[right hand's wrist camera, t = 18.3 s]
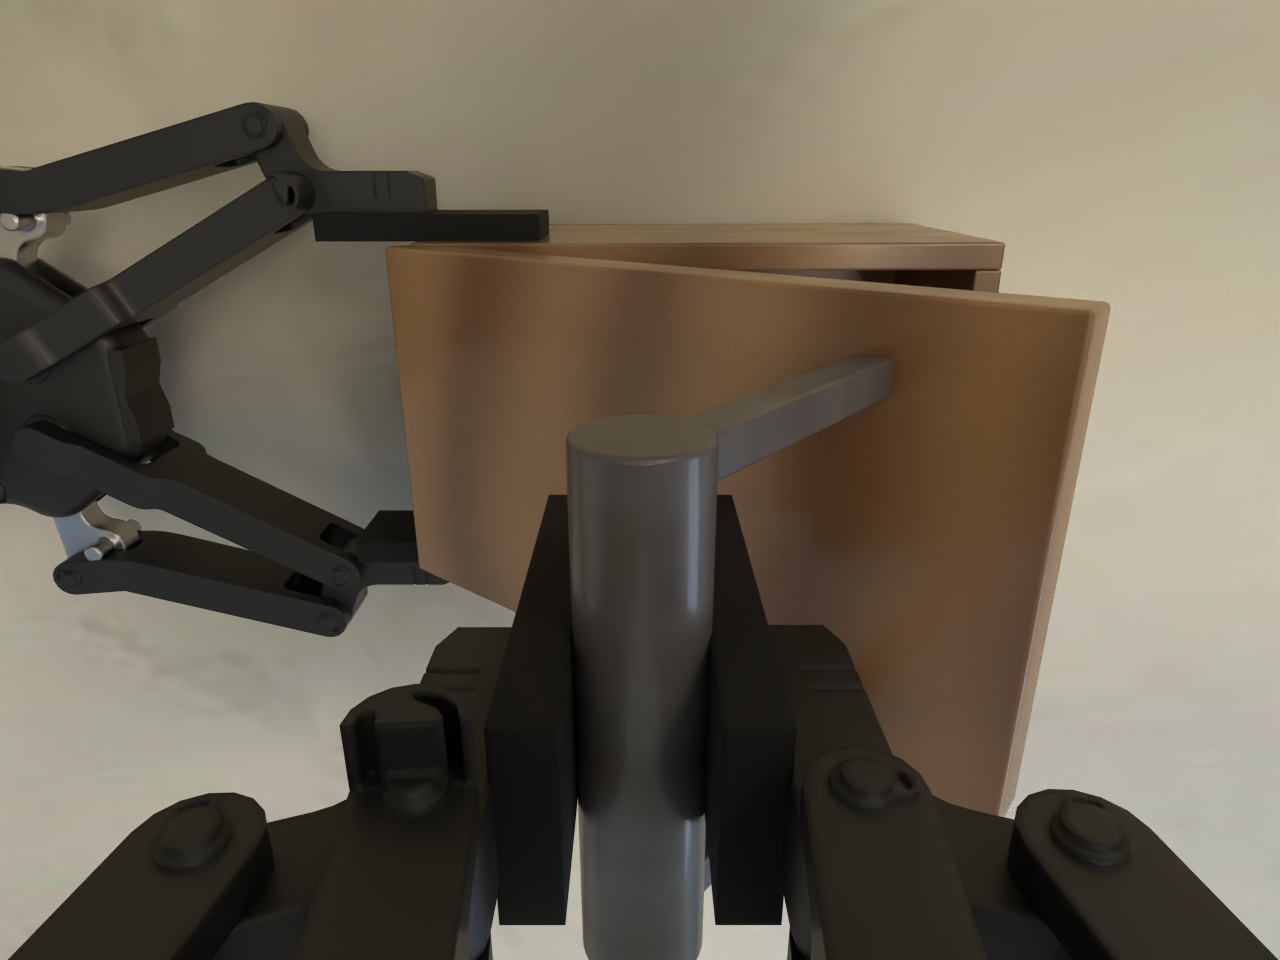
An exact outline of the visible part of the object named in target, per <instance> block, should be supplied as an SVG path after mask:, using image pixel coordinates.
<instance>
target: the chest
mask: <svg viewBox="0 0 1280 960" xmlns="http://www.w3.org/2000/svg"><path fill="white" fill-rule="evenodd" d="M417 244H422V245H434V246H446V247H458V248H470V249H482V250H494V251H506V252H518V253H530V254H542V255H554V256H565V257H577V258H589V259H601V260H613V261H625V262H637V263H649V264H661V265H673V266H685V267H696V268H708V269H720V270H732V271H744V272H756V273H768V274H780V275H792V276H804V277H816V278H828V279H839V280H851V281H863V282H875V283H887V284H899V285H911V286H923V287H935V288H947V289H959V290H970V291H982V292H994V293H998V290H999V283H1000V276H1001V271H1000V269H1001V267H1002V261H1003V254H1004V247H1005V244H1004V243H1003V242H998V241H993V240H989V239H984V238H979V237H974V236H969V235H964V234H960V233H955V232H950V231H945V230H940V229H935V228H930V227H926V226H921V225H917V224H549V234H548V235H547V236H546V237H544V238H543V239H541V240H540V241H417V242H414V243H412V244H410V245H417Z"/></svg>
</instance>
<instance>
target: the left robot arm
mask: <svg viewBox="0 0 1280 960" xmlns="http://www.w3.org/2000/svg"><path fill="white" fill-rule="evenodd" d="M308 135H309V130H308V125H307V123H306V121H305V119H304V117H303V116H302V115H301V114H299V113H298V112H297V111H295V110H292V109H289V108H284V107H279V106H273V105H267V104H262V103H256V102H251V103H244V104H241V105H237V106H234V107H231V108H228V109H224V110H221V111H218V112H215V113H211V114H208V115H205V116H202V117H198V118H195V119H192V120H189V121H185V122H182V123H179V124H176V125H173V126H169V127H166V128H163V129H160V130H156V131H153V132H150V133H147V134H143V135H140V136H137V137H134V138H130V139H127V140H124V141H121V142H117V143H114V144H111V145H108V146H104V147H101V148H98V149H95V150H91V151H88V152H85V153H82V154H78V155H75V156H72V157H69V158H66V159H62V160H59V161H56V162H53V163H49V164H46V165H43V166H40V167H36V168H33V167H22V166H0V504H5V503H9V504H16V505H20V506H23V507H26V508H29V509H31V510H33V511H35V512H38V513H40V514H42V515H45V516H49V517H54V520H55V523H56V526H57V529H58V531H59V534H60V537H61V540H62V542H63V545H64V548H65V551H66V553H67V556H68V559H67V560H65V561H64V562H62V563H61V564H59V565H58V566H57V567H56V568H55V569H54V572H53V578H54V581H55V583H56V584H57V586H58V587H59V588H60V589H61V590H63V591H65V592H67V593H69V594H90V593H103V592H116V591H128V592H132V593H137V594H141V595H146V596H150V597H154V598H159V599H163V600H168V601H172V602H177V603H181V604H185V605H190V606H194V607H199V608H203V609H207V610H212V611H216V612H221V613H225V614H229V615H234V616H238V617H243V618H247V619H251V620H256V621H260V622H265V623H269V624H273V625H278V626H282V627H287V628H291V629H295V630H300V631H304V632H309V633H313V634H318V635H322V636H326V637H335V636H338V635H340V634H341V633H342V632H344V630H345V629H346V627H347V626H348V624H349V622H350V621H351V619H352V618H353V616H354V615H355V613H356V612H357V610H358V608H359V607H360V605H361V604H362V602H363V601H364V599H365V597H366V595H367V586H370V585H376V584H428V585H444V584H446V583H449V581H447V580H445V579H442V578H440V577H438V576H436V575H434V574H431V573H429V572H427V571H425V570H423V569H421V568H420V567H419V559H418V550H417V540H416V531H415V521H414V512H413V511H403V510H379V512H378V513H377V514H376V515H375V517H374V518H373V519H372V521H371V522H370V523H369V525H368V526H367V527H366V529H363V528H361V527H359V526H357V525H354V524H352V523H350V522H348V521H346V520H344V519H342V518H340V517H338V516H335V515H333V514H331V513H329V512H327V511H325V510H323V509H321V508H319V507H316V506H314V505H312V504H310V503H308V502H306V501H304V500H302V499H300V498H297V497H295V496H293V495H291V494H289V493H287V492H285V491H283V490H281V489H278V488H276V487H274V486H272V485H270V484H268V483H266V482H264V481H262V480H259V479H257V478H255V477H253V476H251V475H249V474H247V473H245V472H243V471H240V470H238V469H236V468H234V467H232V466H230V465H228V464H226V463H224V462H221V461H219V460H217V459H215V458H213V457H211V456H209V455H208V454H207V453H206V451H205V448H204V447H203V446H202V445H201V444H199V443H198V442H196V441H194V440H191V439H189V438H187V437H185V436H183V435H181V434H179V433H177V432H175V431H173V430H170V429H172V428H174V423H173V418H172V413H171V408H170V405H169V403H168V401H167V398H166V396H165V394H164V392H163V390H162V388H161V386H160V383H159V376H160V361H161V359H160V355H159V350H158V345H157V340H156V337H148V336H147V334H146V333H145V331H144V329H143V328H144V327H145V326H147V325H149V324H150V323H152V322H153V321H155V320H157V319H158V318H160V317H162V316H163V315H165V314H166V313H168V312H170V311H171V310H173V309H174V308H176V307H177V304H179V303H180V302H181V301H183V300H185V299H186V298H188V297H189V296H191V295H193V294H194V293H196V292H198V291H199V290H201V289H202V288H204V287H206V286H207V285H209V284H210V283H212V282H214V281H215V280H217V279H218V278H220V277H222V276H223V275H225V274H226V273H228V272H230V271H231V270H233V269H234V268H236V267H238V266H239V265H241V264H242V263H244V262H246V261H247V260H249V259H250V258H252V257H254V256H255V255H257V254H259V253H260V252H262V251H263V250H265V249H267V248H268V247H270V246H271V245H273V244H275V243H276V242H278V241H279V240H281V239H283V238H284V237H286V236H287V235H289V234H291V233H292V232H294V231H295V230H297V229H299V228H300V227H302V226H303V225H305V224H307V223H308V222H310V221H312V220H313V225H314V233H315V240H316V241H540V240H541V239H543V238H544V237H546V236H547V235H548V234H549V214H548V210H437V198H436V186H435V178H433V177H431V176H429V175H426V174H424V173H421V172H419V171H337V170H333V169H331V168H329V167H327V166H326V165H324V164H323V163H322V162H321V161H320V160H319V159H318V157H317V155H316V154H315V152H314V150H313V147H312V145H311V143H310V141H309V139H308ZM255 162H258V164H259V166H260V168H261V170H262V172H263V174H264V176H265V178H266V180H265V181H263V182H262V183H260V184H258V185H257V186H255V187H254V188H252V189H251V190H249V191H247V192H246V193H244V194H243V195H241V196H240V197H238V198H237V199H235V200H233V201H232V202H230V203H229V204H227V205H226V206H224V207H222V208H221V209H219V210H218V211H216V212H215V213H213V214H212V215H210V216H208V217H207V218H205V219H204V220H202V221H201V222H199V223H197V224H196V225H194V226H193V227H191V228H190V229H188V230H187V231H185V232H183V233H182V234H180V235H179V236H177V237H176V238H174V239H173V240H171V241H169V242H168V243H166V244H165V245H163V246H162V247H160V248H158V249H157V250H155V251H154V252H152V253H151V254H149V255H148V256H146V257H144V258H143V259H141V260H140V261H138V262H137V263H135V264H133V265H132V266H130V267H129V268H127V269H126V270H124V271H123V272H121V273H119V274H118V275H116V276H115V277H113V278H111V279H110V280H108V281H106V282H103V283H101V284H99V285H96V286H94V287H92V288H90V289H88V288H86V287H84V286H83V285H81V284H80V283H78V282H77V281H75V280H73V279H72V278H70V277H69V276H67V275H65V274H64V273H62V272H61V271H59V270H57V269H56V268H54V267H53V266H51V265H50V264H48V263H46V262H45V261H43V260H41V259H39V258H37V250H38V247H39V245H40V244H41V243H42V242H43V241H44V240H46V239H50V238H54V237H58V236H60V235H61V234H62V233H63V232H64V230H65V227H66V226H67V225H69V223H70V222H71V216H70V214H69V212H73V211H85V210H96V209H100V208H105V207H109V206H113V205H116V204H119V203H123V202H126V201H129V200H133V199H136V198H139V197H142V196H146V195H149V194H152V193H156V192H159V191H162V190H166V189H169V188H172V187H176V186H179V185H182V184H186V183H189V182H192V181H196V180H199V179H202V178H206V177H209V176H212V175H216V174H219V173H222V172H226V171H229V170H232V169H235V168H239V167H242V166H245V165H249V164H252V163H255ZM148 461H151V462H150V463H148V464H145V463H146V462H148ZM105 495H109V496H111V497H113V498H115V499H118V500H120V501H122V502H124V503H126V504H129V505H131V506H133V507H136V508H140V509H160V510H163V511H165V512H168V513H170V514H172V515H174V516H176V517H179V518H181V519H183V520H185V521H187V522H190V523H192V524H194V525H196V526H198V527H200V528H203V529H205V530H207V531H209V532H211V533H214V534H216V535H218V536H220V537H222V538H224V539H227V540H229V541H231V542H233V543H235V544H238V545H240V546H242V547H244V548H246V549H249V550H251V551H249V550H245V549H241V548H236V547H232V546H228V545H224V544H219V543H215V542H211V541H206V540H202V539H198V538H194V537H189V536H185V535H181V534H176V533H171V532H164V531H141V525H140V523H139V522H137V521H136V520H133V519H129V520H127V521H125V520H120V519H114V518H111V517H109V516H107V515H106V514H105V513H103V512H102V510H101V509H100V508H99V506H98V504H97V501H99V500H100V499H102V498H103V497H104V496H105Z"/></svg>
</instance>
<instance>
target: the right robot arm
mask: <svg viewBox="0 0 1280 960" xmlns="http://www.w3.org/2000/svg"><path fill="white" fill-rule="evenodd" d="M340 731H341V737H342V744H343V750H344V757H345V763H346V770H347V776H348V783H349V789H350V792H349V795H348V798H347V799H346V800H344V801H342V802H340V803H338V804H336V805H334V806H331V807H328V808H325V809H321V810H318V811H315V812H312V813H307V814H303V815H299V816H294V817H290V818H286V819H282V820H277V821H273V822H269V823H267V820H266V815H265V811H264V810H263V808H262V807H261V806H260V805H259V804H258V803H257V802H256V801H255V800H254V799H253V798H250V797H247V796H244V795H240V794H237V793H234V792H233V793H208V794H204V795H200V796H197V797H193V798H189V799H186V800H182V801H179V802H177V803H175V804H173V805H171V806H169V807H167V808H165V809H163V810H161V811H159V812H157V813H155V814H154V815H152V816H151V817H150V818H149V819H147V820H146V821H145V822H144V823H142V824H141V825H140V826H139V827H137V828H136V829H135V830H134V831H132V832H131V833H130V834H129V835H128V836H127V837H126V838H125V839H124V840H123V841H122V843H121V844H120V845H119V846H118V847H117V848H116V849H115V850H114V851H113V852H112V853H111V854H110V855H109V856H108V857H107V858H106V859H105V860H104V861H103V862H102V863H101V864H100V865H99V866H98V867H97V868H96V869H95V870H94V871H93V872H92V873H91V875H90V876H89V877H88V878H87V879H86V880H85V881H84V882H83V883H82V884H81V885H80V886H79V887H78V888H77V889H76V890H75V891H74V892H73V893H72V894H71V895H70V896H69V897H68V898H67V899H66V900H65V901H64V902H63V903H62V904H61V906H60V907H59V908H58V909H57V910H56V911H55V912H54V913H53V914H52V915H51V916H50V917H49V918H48V919H47V920H46V921H45V922H44V923H43V924H42V925H41V926H40V927H39V928H38V929H37V930H36V931H35V932H34V933H33V934H32V935H31V936H30V938H29V939H28V940H27V941H26V942H25V943H24V944H23V945H22V946H21V947H20V948H19V949H18V950H17V951H16V952H15V953H14V954H13V955H12V956H11V957H10V958H9V959H8V960H493V956H492V944H491V933H490V931H491V926H492V921H493V916H494V911H495V906H496V901H497V900H498V913H499V925H565V922H566V912H567V902H568V892H569V882H570V871H571V861H572V851H573V841H574V831H575V821H576V810H577V800H578V784H577V756H576V728H575V700H574V671H573V643H572V615H571V587H570V558H569V530H568V502H567V495H549V496H548V500H547V503H546V507H545V510H544V514H543V517H542V521H541V525H540V528H539V532H538V535H537V539H536V543H535V546H534V550H533V553H532V557H531V561H530V564H529V568H528V571H527V575H526V579H525V582H524V586H523V589H522V593H521V597H520V600H519V604H518V607H517V611H516V615H515V618H514V622H513V625H512V627H458V628H457V629H456V630H455V631H453V632H452V633H451V634H450V635H449V636H448V637H446V638H445V639H444V640H443V641H442V642H441V643H439V644H438V645H437V646H436V647H435V649H434V652H433V654H432V657H431V659H430V661H429V664H428V666H427V668H426V673H424V675H423V678H422V680H421V682H420V684H413V685H407V686H400V687H394V688H390V689H388V690H385V691H383V692H380V693H378V694H375V695H372V696H370V697H368V698H367V699H365V700H364V701H362V702H361V703H360V704H358V705H357V706H355V707H354V708H352V709H351V710H350V711H349V713H348V714H347V716H346V717H345V718H344V720H343V721H342V723H341V724H340ZM705 823H706V833H707V844H708V854H709V864H710V874H711V884H712V894H713V904H714V914H715V924H716V925H781V922H782V910H783V897H784V898H785V903H786V908H787V913H788V918H789V923H790V933H789V944H788V956H787V960H1278V959H1277V958H1276V957H1275V956H1274V955H1273V954H1272V953H1271V952H1270V951H1269V950H1268V949H1267V948H1266V947H1265V946H1264V945H1263V944H1262V943H1261V942H1260V941H1259V940H1258V939H1257V937H1256V936H1255V935H1254V934H1253V933H1252V932H1251V931H1250V930H1249V929H1248V928H1247V927H1246V926H1245V925H1244V924H1243V923H1242V922H1241V921H1240V920H1239V919H1238V918H1237V917H1236V916H1235V915H1234V914H1233V913H1232V912H1231V911H1230V910H1229V909H1228V908H1227V907H1226V906H1225V905H1224V904H1223V903H1222V902H1221V901H1220V900H1219V899H1218V897H1217V896H1216V895H1215V894H1214V893H1213V892H1212V891H1211V890H1210V889H1209V888H1208V887H1207V886H1206V885H1205V884H1204V883H1203V882H1202V881H1201V880H1200V879H1199V878H1198V877H1197V876H1196V875H1195V874H1194V873H1193V872H1192V871H1191V870H1190V869H1189V868H1188V867H1187V866H1186V865H1185V864H1184V863H1183V862H1182V861H1181V860H1180V859H1179V857H1178V856H1177V855H1176V854H1175V853H1174V852H1173V851H1172V850H1171V849H1170V848H1169V847H1168V846H1167V845H1166V844H1165V843H1164V842H1163V841H1162V840H1161V839H1160V838H1159V837H1158V836H1157V835H1156V834H1155V833H1154V832H1153V831H1152V830H1151V829H1150V828H1149V827H1148V826H1146V825H1145V824H1144V823H1143V822H1141V821H1140V820H1139V819H1138V818H1136V817H1135V816H1134V815H1133V814H1131V813H1130V812H1129V811H1127V810H1125V809H1123V808H1121V807H1119V806H1117V805H1115V804H1113V803H1111V802H1109V801H1107V800H1105V799H1103V798H1101V797H1097V796H1094V795H1090V794H1086V793H1083V792H1079V791H1075V790H1059V789H1047V790H1043V791H1040V792H1037V793H1034V794H1030V795H1028V796H1027V797H1026V798H1025V799H1024V800H1023V801H1022V802H1021V804H1020V805H1019V806H1018V807H1017V810H1016V815H1015V820H1013V819H1009V818H1005V817H1001V816H996V815H992V814H988V813H983V812H979V811H975V810H970V809H967V808H964V807H960V806H957V805H954V804H951V803H948V802H946V801H944V800H942V799H939V798H937V797H935V796H933V795H932V793H931V790H930V789H929V787H928V785H927V784H926V782H925V781H924V779H923V777H922V776H921V774H920V773H919V772H918V771H917V770H915V769H914V768H913V767H911V766H910V765H909V764H908V763H906V762H905V761H904V760H903V759H901V758H898V757H896V756H894V755H893V754H892V752H891V749H890V747H889V745H888V742H887V740H886V738H885V735H884V733H883V731H882V728H881V726H880V724H879V721H878V719H877V717H876V714H875V712H874V710H873V707H872V705H871V703H870V700H869V698H868V696H867V693H866V691H865V689H863V684H862V682H861V679H860V677H859V675H858V672H857V671H855V665H854V663H853V661H852V658H851V656H850V654H849V652H848V649H847V647H846V645H845V643H843V642H842V641H841V640H840V639H839V638H838V637H836V636H835V635H834V634H833V633H832V632H831V631H829V630H828V629H827V628H826V627H825V626H824V625H768V622H767V619H766V615H765V612H764V608H763V605H762V601H761V597H760V594H759V590H758V587H757V583H756V579H755V576H754V572H753V569H752V565H751V562H750V558H749V554H748V551H747V547H746V544H745V540H744V536H743V533H742V529H741V526H740V522H739V519H738V515H737V511H736V508H735V504H734V501H733V497H732V495H717V507H716V538H715V568H714V598H713V628H712V635H711V638H710V667H709V697H708V726H707V756H706V785H705Z"/></svg>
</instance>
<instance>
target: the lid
mask: <svg viewBox="0 0 1280 960" xmlns="http://www.w3.org/2000/svg"><path fill="white" fill-rule="evenodd" d="M386 259H387V268H388V278H389V287H390V296H391V306H392V315H393V324H394V334H395V343H396V353H397V362H398V371H399V381H400V390H401V399H402V409H403V418H404V428H405V437H406V446H407V456H408V465H409V475H410V484H411V493H412V503H413V512H414V521H415V531H416V540H417V550H418V559H419V567H420V568H421V569H423V570H425V571H427V572H429V573H431V574H434V575H436V576H438V577H440V578H442V579H445V580H447V581H449V582H451V583H453V584H456V585H458V586H460V587H462V588H464V589H466V590H469V591H471V592H473V593H475V594H477V595H480V596H482V597H484V598H486V599H488V600H490V601H493V602H495V603H497V604H499V605H501V606H504V607H506V608H508V609H510V610H512V611H515V612H516V611H517V607H518V604H519V600H520V597H521V593H522V589H523V586H524V582H525V579H526V575H527V571H528V568H529V564H530V561H531V557H532V553H533V550H534V546H535V543H536V539H537V535H538V532H539V528H540V525H541V521H542V517H543V514H544V510H545V507H546V503H547V500H548V496H549V495H567V502H568V530H569V558H570V587H571V615H572V643H573V671H574V700H575V728H576V756H577V784H578V813H579V841H580V869H581V897H582V926H583V943H584V948H585V952H586V954H587V957H588V959H589V960H696V959H697V957H698V955H699V953H700V950H701V945H702V930H703V900H704V891H705V890H706V889H707V888H708V887H709V886H710V885H711V874H710V864H709V854H708V844H707V833H706V823H705V785H706V756H707V726H708V697H709V667H710V638H711V635H712V628H713V598H714V568H715V538H716V507H717V495H732V497H733V501H734V504H735V508H736V511H737V515H738V519H739V522H740V526H741V529H742V533H743V536H744V540H745V544H746V547H747V551H748V554H749V558H750V562H751V565H752V569H753V572H754V576H755V579H756V583H757V587H758V590H759V594H760V597H761V601H762V605H763V608H764V612H765V615H766V619H767V622H768V625H824V626H825V627H826V628H827V629H828V630H829V631H831V632H832V633H833V634H834V635H835V636H836V637H838V638H839V639H840V640H841V641H842V642H843V643H845V645H846V647H847V649H848V652H849V654H850V656H851V658H852V661H853V663H854V665H855V671H857V672H858V675H859V677H860V679H861V682H862V684H863V689H865V691H866V693H867V696H868V698H869V700H870V703H871V705H872V707H873V710H874V712H875V714H876V717H877V719H878V721H879V724H880V726H881V728H882V731H883V733H884V735H885V738H886V740H887V742H888V745H889V747H890V749H891V752H892V754H893V755H894V756H896V757H898V758H901V759H903V760H904V761H905V762H906V763H908V764H909V765H910V766H911V767H913V768H914V769H915V770H917V771H918V772H919V773H920V774H921V776H922V777H923V779H924V781H925V782H926V784H927V785H928V787H929V789H930V790H931V793H932V795H933V796H935V797H937V798H939V799H942V800H944V801H946V802H948V803H951V804H954V805H957V806H960V807H964V808H967V809H970V810H975V811H979V812H983V813H988V814H992V815H996V816H1001V817H1004V815H1005V814H1006V812H1007V810H1008V808H1009V806H1010V804H1011V802H1012V801H1013V799H1014V797H1015V791H1016V786H1017V781H1018V776H1019V771H1020V766H1021V761H1022V756H1023V751H1024V746H1025V741H1026V735H1027V730H1028V725H1029V720H1030V715H1031V710H1032V705H1033V700H1034V695H1035V690H1036V685H1037V679H1038V674H1039V669H1040V664H1041V659H1042V654H1043V649H1044V644H1045V639H1046V634H1047V629H1048V623H1049V618H1050V613H1051V608H1052V603H1053V598H1054V593H1055V588H1056V583H1057V578H1058V572H1059V567H1060V562H1061V557H1062V552H1063V547H1064V542H1065V537H1066V532H1067V527H1068V522H1069V516H1070V511H1071V506H1072V501H1073V496H1074V491H1075V486H1076V481H1077V476H1078V471H1079V466H1080V460H1081V455H1082V450H1083V445H1084V440H1085V435H1086V430H1087V425H1088V420H1089V415H1090V410H1091V404H1092V399H1093V394H1094V389H1095V384H1096V379H1097V374H1098V369H1099V364H1100V359H1101V354H1102V348H1103V343H1104V338H1105V333H1106V328H1107V323H1108V318H1109V313H1110V305H1109V304H1108V303H1106V302H1102V301H1090V300H1078V299H1066V298H1054V297H1042V296H1030V295H1018V294H1006V293H994V292H982V291H970V290H959V289H947V288H935V287H923V286H911V285H899V284H887V283H875V282H863V281H851V280H839V279H828V278H816V277H804V276H792V275H780V274H768V273H756V272H744V271H732V270H720V269H708V268H696V267H685V266H673V265H661V264H649V263H637V262H625V261H613V260H601V259H589V258H577V257H565V256H554V255H542V254H530V253H518V252H506V251H494V250H482V249H470V248H458V247H446V246H434V245H422V244H417V245H404V246H392V247H388V248H386Z"/></svg>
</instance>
